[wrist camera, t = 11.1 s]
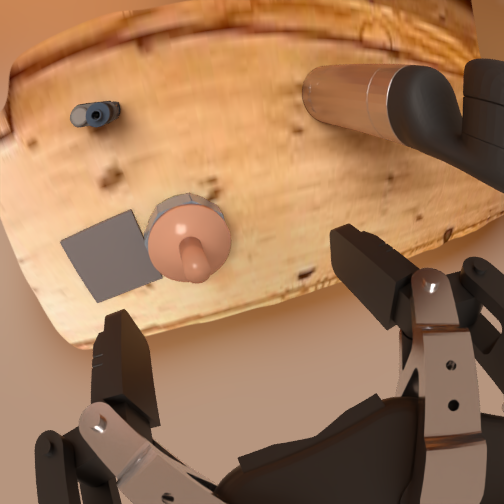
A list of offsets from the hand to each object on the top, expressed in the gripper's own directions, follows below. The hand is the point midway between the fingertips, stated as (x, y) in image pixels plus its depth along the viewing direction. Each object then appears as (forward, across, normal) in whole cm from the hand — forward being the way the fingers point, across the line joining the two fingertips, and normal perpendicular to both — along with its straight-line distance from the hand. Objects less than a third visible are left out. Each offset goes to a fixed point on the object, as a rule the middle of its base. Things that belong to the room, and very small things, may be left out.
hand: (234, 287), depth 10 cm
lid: (+26, +2, +12) cm, 29 cm away
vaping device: (+30, +7, -8) cm, 32 cm away
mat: (+30, +14, +12) cm, 35 cm away
